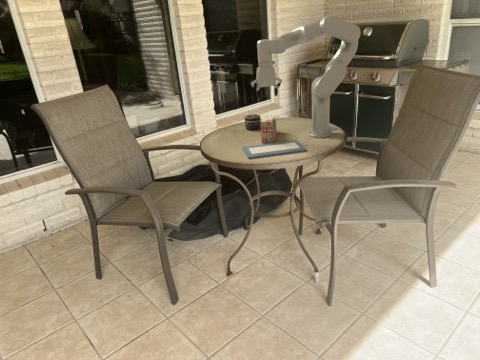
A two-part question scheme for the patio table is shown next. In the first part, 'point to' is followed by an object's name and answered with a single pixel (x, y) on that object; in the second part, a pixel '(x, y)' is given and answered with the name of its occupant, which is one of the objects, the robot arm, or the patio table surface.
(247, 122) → the jar
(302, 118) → the patio table surface
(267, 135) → the stack of blocks
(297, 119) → the patio table surface
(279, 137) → the patio table surface
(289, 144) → the board
